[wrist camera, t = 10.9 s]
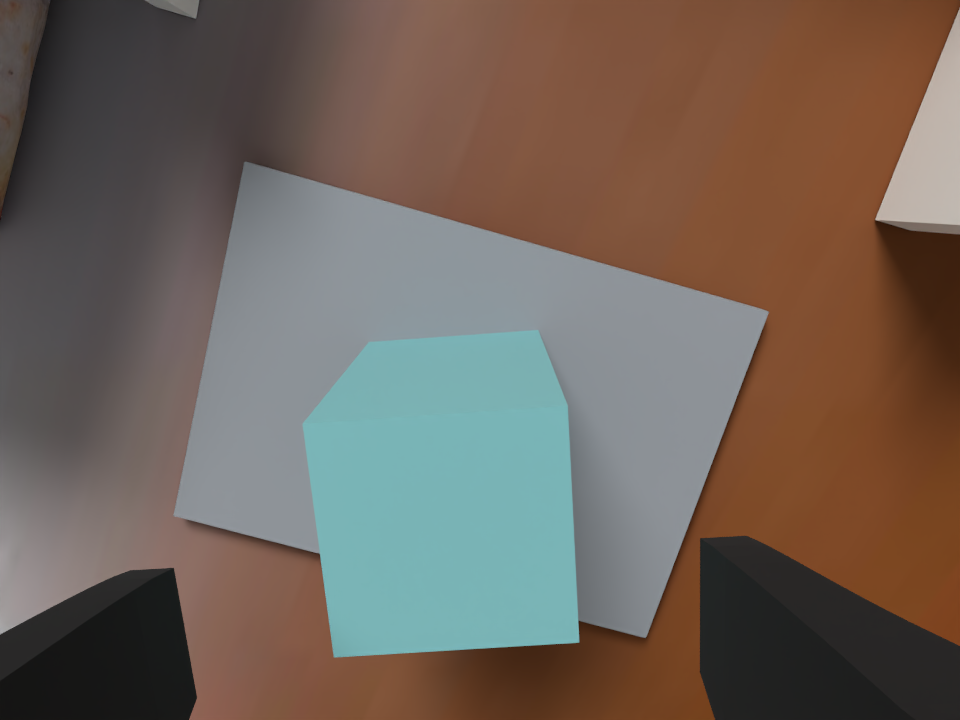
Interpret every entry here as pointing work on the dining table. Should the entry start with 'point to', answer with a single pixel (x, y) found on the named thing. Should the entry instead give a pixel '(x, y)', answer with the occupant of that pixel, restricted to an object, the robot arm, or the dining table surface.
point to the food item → (16, 73)
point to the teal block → (445, 497)
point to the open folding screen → (924, 160)
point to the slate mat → (454, 312)
